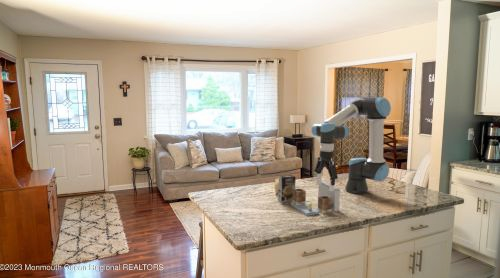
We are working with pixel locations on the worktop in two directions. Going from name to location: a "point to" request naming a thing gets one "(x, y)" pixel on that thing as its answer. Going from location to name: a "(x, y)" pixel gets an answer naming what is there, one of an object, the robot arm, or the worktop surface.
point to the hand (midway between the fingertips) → (325, 187)
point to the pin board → (305, 208)
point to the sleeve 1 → (299, 196)
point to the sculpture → (276, 185)
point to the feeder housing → (330, 194)
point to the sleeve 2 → (324, 204)
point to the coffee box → (286, 188)
